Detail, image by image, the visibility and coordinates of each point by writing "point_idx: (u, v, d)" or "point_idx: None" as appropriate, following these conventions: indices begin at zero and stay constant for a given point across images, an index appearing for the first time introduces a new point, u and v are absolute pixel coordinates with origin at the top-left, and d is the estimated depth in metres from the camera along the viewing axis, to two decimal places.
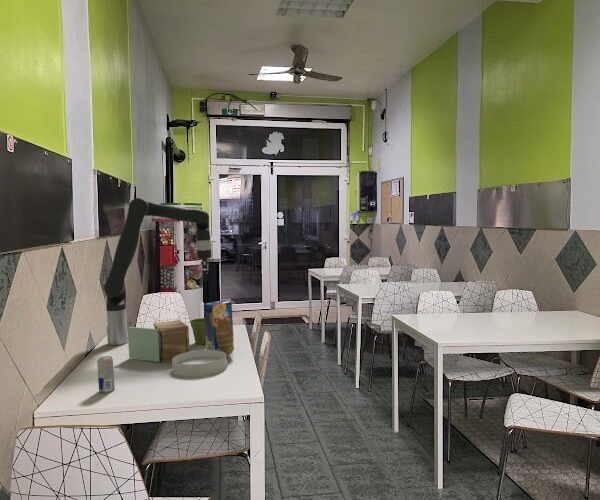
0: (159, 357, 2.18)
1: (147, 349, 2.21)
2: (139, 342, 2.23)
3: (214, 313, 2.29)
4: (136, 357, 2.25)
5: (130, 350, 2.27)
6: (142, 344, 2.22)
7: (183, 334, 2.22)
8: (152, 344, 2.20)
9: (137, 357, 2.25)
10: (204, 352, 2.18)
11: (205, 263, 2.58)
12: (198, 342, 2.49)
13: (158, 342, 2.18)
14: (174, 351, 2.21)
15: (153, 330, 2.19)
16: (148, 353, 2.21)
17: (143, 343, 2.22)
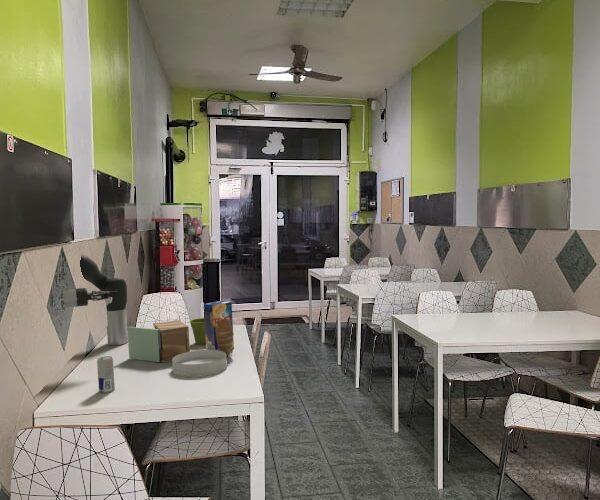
0: (159, 357, 2.18)
1: (147, 349, 2.21)
2: (139, 342, 2.23)
3: (214, 313, 2.29)
4: (136, 357, 2.25)
5: (130, 350, 2.27)
6: (142, 344, 2.22)
7: (183, 334, 2.22)
8: (152, 344, 2.20)
9: (137, 357, 2.25)
10: (204, 352, 2.18)
11: (100, 296, 2.12)
12: (198, 342, 2.49)
13: (158, 342, 2.18)
14: (174, 351, 2.21)
15: (153, 330, 2.19)
16: (148, 353, 2.21)
17: (143, 343, 2.22)
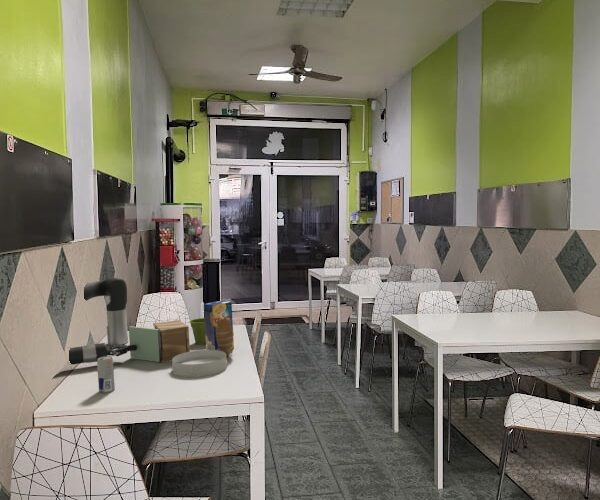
0: (159, 357, 2.18)
1: (147, 349, 2.22)
2: (140, 342, 2.24)
3: (214, 313, 2.29)
4: (137, 357, 2.25)
5: None
6: (143, 344, 2.23)
7: (183, 334, 2.22)
8: (152, 344, 2.20)
9: (138, 357, 2.25)
10: (204, 352, 2.18)
11: (119, 351, 2.16)
12: (198, 342, 2.49)
13: (158, 342, 2.18)
14: (174, 351, 2.21)
15: (153, 330, 2.19)
16: (148, 353, 2.21)
17: (143, 343, 2.23)
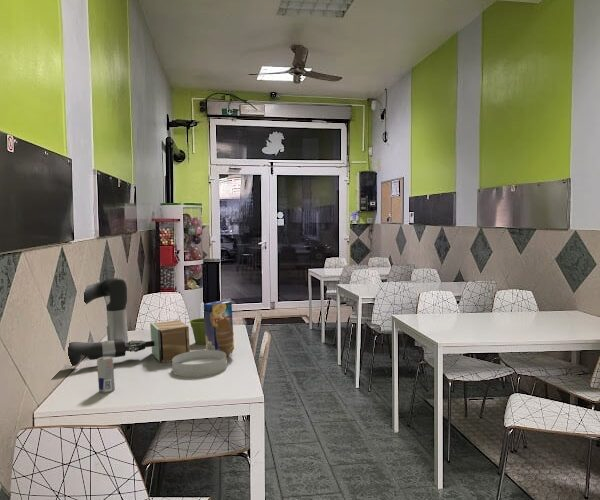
0: (159, 357, 2.18)
1: (155, 347, 2.24)
2: (153, 339, 2.28)
3: (214, 313, 2.29)
4: (153, 353, 2.31)
5: None
6: (154, 341, 2.27)
7: (183, 334, 2.22)
8: (156, 343, 2.21)
9: (153, 353, 2.30)
10: (204, 352, 2.18)
11: (137, 347, 2.20)
12: (198, 342, 2.49)
13: (158, 342, 2.18)
14: (174, 351, 2.21)
15: (156, 329, 2.20)
16: (156, 351, 2.24)
17: (154, 340, 2.26)
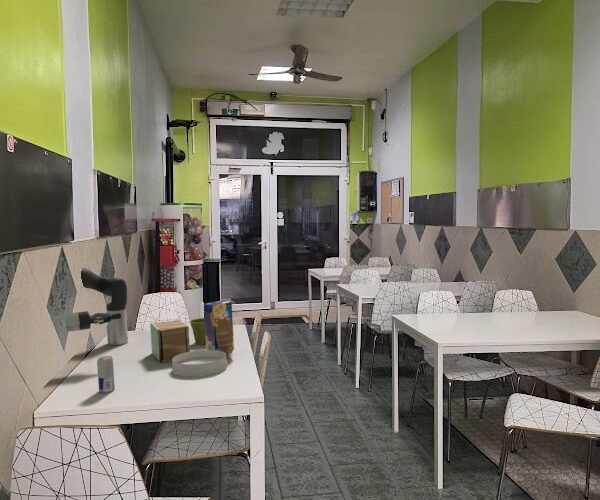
0: (159, 357, 2.18)
1: (155, 347, 2.24)
2: (153, 339, 2.28)
3: (214, 313, 2.29)
4: (153, 353, 2.31)
5: None
6: (154, 341, 2.27)
7: (183, 334, 2.22)
8: (156, 343, 2.21)
9: (153, 353, 2.30)
10: (204, 352, 2.18)
11: (102, 319, 2.13)
12: (198, 342, 2.49)
13: (158, 342, 2.18)
14: (174, 351, 2.21)
15: (156, 329, 2.20)
16: (156, 351, 2.24)
17: (154, 340, 2.26)
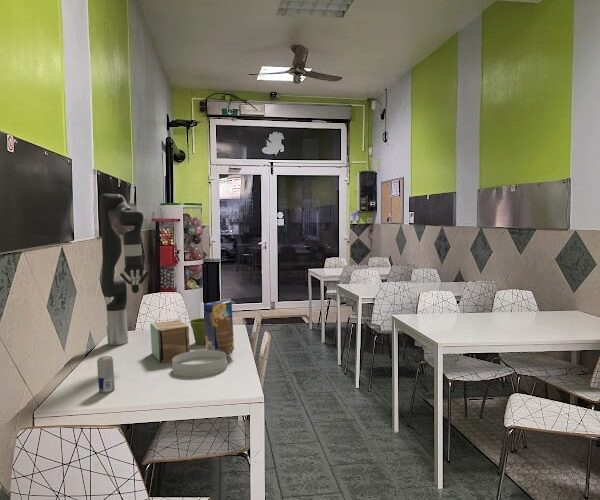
0: (159, 357, 2.18)
1: (155, 347, 2.24)
2: (153, 339, 2.28)
3: (214, 313, 2.29)
4: (153, 353, 2.31)
5: None
6: (154, 341, 2.27)
7: (183, 334, 2.22)
8: (156, 343, 2.21)
9: (153, 353, 2.30)
10: (204, 352, 2.18)
11: None
12: (198, 342, 2.49)
13: (158, 342, 2.18)
14: (174, 351, 2.21)
15: (156, 329, 2.20)
16: (156, 351, 2.24)
17: (154, 340, 2.26)
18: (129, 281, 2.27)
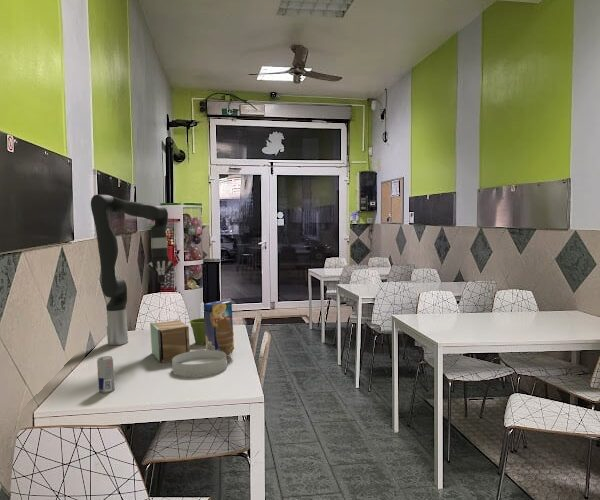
0: (159, 357, 2.18)
1: (155, 347, 2.24)
2: (153, 339, 2.28)
3: (214, 313, 2.29)
4: (153, 353, 2.31)
5: None
6: (154, 341, 2.27)
7: (183, 334, 2.22)
8: (156, 343, 2.21)
9: (153, 353, 2.30)
10: (204, 352, 2.18)
11: None
12: (198, 342, 2.49)
13: (158, 342, 2.18)
14: (174, 351, 2.21)
15: (156, 329, 2.20)
16: (156, 351, 2.24)
17: (154, 340, 2.26)
18: None
